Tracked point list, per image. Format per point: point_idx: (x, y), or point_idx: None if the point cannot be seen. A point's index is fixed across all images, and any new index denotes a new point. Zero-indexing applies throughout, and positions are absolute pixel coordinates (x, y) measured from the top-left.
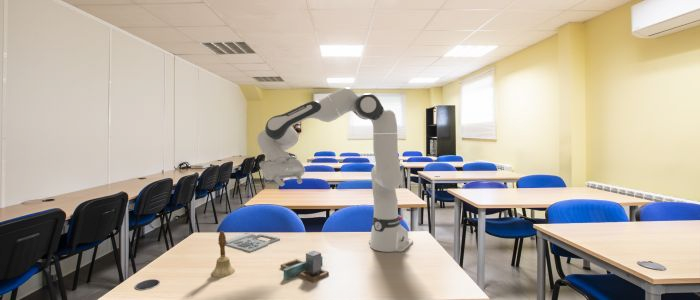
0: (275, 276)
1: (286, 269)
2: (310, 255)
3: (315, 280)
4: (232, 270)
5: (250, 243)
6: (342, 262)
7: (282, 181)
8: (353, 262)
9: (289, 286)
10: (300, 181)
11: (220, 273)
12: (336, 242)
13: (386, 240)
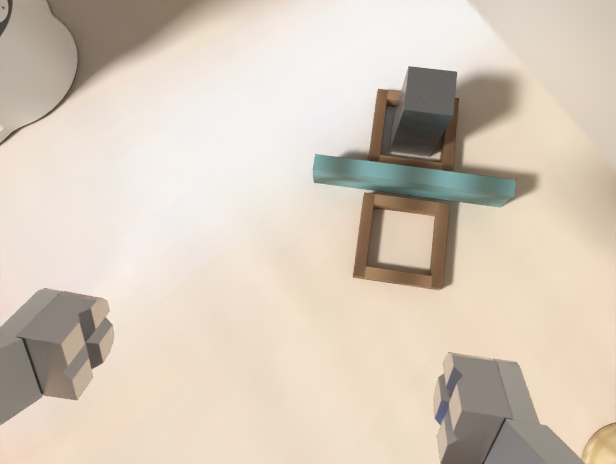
0: (506, 247)
1: (508, 183)
2: (455, 87)
3: None
4: (611, 434)
5: None
6: (252, 120)
7: (490, 396)
8: (230, 87)
9: (527, 148)
10: (85, 296)
11: None
12: (53, 280)
13: (36, 9)
